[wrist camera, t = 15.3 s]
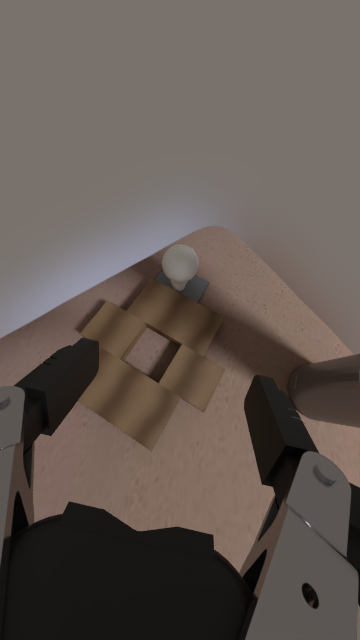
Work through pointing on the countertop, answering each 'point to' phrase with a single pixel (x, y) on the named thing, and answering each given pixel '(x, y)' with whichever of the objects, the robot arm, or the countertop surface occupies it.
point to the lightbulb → (180, 265)
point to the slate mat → (187, 286)
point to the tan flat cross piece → (133, 386)
